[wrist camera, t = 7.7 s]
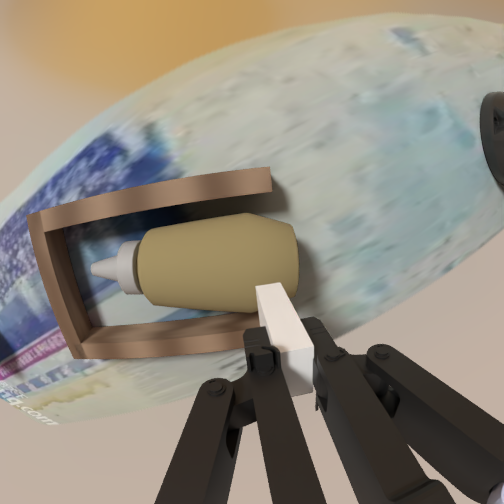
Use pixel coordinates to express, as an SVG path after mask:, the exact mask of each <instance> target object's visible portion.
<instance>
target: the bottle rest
mask: <svg viewBox="0 0 504 504" xmlns="http://www.w3.org/2000/svg"><path fill="white" fill-rule="evenodd" d="M265 192H272V183H271V173H270V167H261V168H252V169H243V170H235V171H227V172H219V173H212V174H205V175H198V176H192V177H186V178H180V179H174V180H168V181H163V182H157V183H152V184H147V185H142V186H137V187H132V188H127V189H123V190H118V191H114V192H110V193H105V194H101V195H97V196H93V197H89V198H85V199H81V200H77V201H73V202H70V203H66V204H63V205H59V206H55V207H52V208H49V209H45V210H42V211H39V212H36V213H32V214H29V215H26V217H27V222H28V227H29V232H30V236H31V241H32V245H33V249H34V253H35V257H36V260H37V264H38V267H39V271H40V274H41V277H42V281H43V284H44V287H45V290H46V293H47V296H48V298H49V301H50V304H51V307H52V309H53V312H54V314H55V317H56V320H57V322H58V324H59V327H60V329H61V332H62V334H63V336H64V338H65V341H66V343H67V345H68V347H69V349H70V351H71V353H72V356H73V358H74V359H124V358H147V357H163V356H175V355H187V354H197V353H206V352H215V351H223V350H231V349H238V348H245V347H244V341H243V334H244V332H245V330H246V329H249V328H256V327H260V321H259V313H258V311H256V312H253V313H246V312H239V313H232V314H224V315H217V316H209V317H201V318H193V319H184V320H175V321H166V322H155V323H145V324H133V325H120V326H106V327H92V325H91V323H90V320H89V317H88V315H87V312H86V309H85V306H84V303H83V301H82V298H81V295H80V292H79V288H78V285H77V282H76V279H75V275H74V272H73V269H72V265H71V261H70V258H69V254H68V250H67V246H66V242H65V237H64V233H63V227H67V226H71V225H76V224H80V223H85V222H89V221H94V220H98V219H103V218H108V217H113V216H118V215H123V214H128V213H133V212H138V211H144V210H149V209H155V208H160V207H166V206H172V205H178V204H184V203H191V202H197V201H204V200H211V199H218V198H225V197H232V196H240V195H248V194H256V193H265Z"/></svg>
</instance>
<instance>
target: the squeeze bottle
mask: <svg viewBox="0 0 504 504" xmlns="http://www.w3.org/2000/svg"><path fill="white" fill-rule="evenodd" d="M91 272H92V274H93V275H94V276H98V277H102V278H106V279H110V280H114V281H118V283H119V285H120V287H121V289H122V290H123V291H124V292H125V293H126V294H144V295H145V297H146V298H147V299H148V300H149V301H150V302H151V303H152V304H153V305H157V306H167V307H177V308H188V309H200V310H214V311H229V312H246V313H253V312H256V311H258V304H257V296H256V287H255V286H260V285H266V284H273V283H279V282H280V283H281V285H282V287H283V288H284V290H285V292H286V294H287V296H288V298H289V299H290V298H292V297H295V294H296V292H297V287H298V281H299V252H298V245H297V240H296V236H295V233H294V230H293V227H292V226H291V225H290V224H287V223H284V222H280V221H277V220H273V219H269V218H266V217H262V216H258V215H254V214H251V213H241V214H235V215H228V216H222V217H216V218H209V219H203V220H197V221H192V222H186V223H180V224H174V225H169V226H163V227H158V228H153V229H151V230H149V231H148V232H147V233H146V234H145V236H144V237H143V239H142V241H141V240H139V241H126V242H124V243H123V244H122V245H121V246H120V248H119V250H118V254H117V256H113V257H110V258H107V259H104V260H101V261H98V262H95V263H93V264H92V265H91Z"/></svg>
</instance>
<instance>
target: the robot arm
mask: <svg viewBox="0 0 504 504" xmlns="http://www.w3.org/2000/svg"><path fill="white" fill-rule="evenodd" d="M480 128H481V137H482V143H483V148H484V152H485V155H486V159H487V162H488V164H489V167H490V169H491V171H492V173H493V175H494V177H495V178H496V179H497V181H498V182H499V183H501V184H502V185H504V92H492V93H488V94H487V95H486V96H485V97H484V99H483V102H482V105H481V112H480ZM255 287H256V296H257V304H258V313H259V321H260V327H256V328H249V329H246V330H245V332H244V334H243V341H244V347H245V354H246V361H247V372H246V373H245V375H244V376H242V377H241V378H240V379H238V380H235V381H233V382H230V381H228V380H227V379H223V378H214V379H211V380H208V381H206V382H205V383H203V384H202V386H201V387H200V389H199V391H198V394H197V396H196V399H195V401H194V404H193V407H192V409H191V412H190V414H189V417H188V419H187V422H186V424H185V427H184V429H183V432H182V435H181V437H180V440H179V442H178V445H177V448H176V450H175V453H174V455H173V458H172V460H171V463H170V465H169V468H168V470H167V473H166V475H165V478H164V480H163V483H162V485H161V488H160V491H159V493H158V496H157V498H156V501H155V503H154V504H227V501H228V496H229V492H230V487H231V482H232V478H233V473H234V469H235V464H236V459H237V454H238V449H239V444H240V439H241V435H242V429H243V426H246V425H249V424H251V423H253V422H256V421H257V424H258V430H259V435H260V440H261V446H262V451H263V457H264V462H265V467H266V472H267V477H268V483H269V488H270V493H271V497H272V502H273V504H327V503H326V500H325V497H324V494H323V491H322V488H321V485H320V482H319V480H318V477H317V474H316V471H315V468H314V465H313V462H312V459H311V456H310V453H309V450H308V447H307V444H306V441H305V438H304V435H303V432H302V429H301V426H300V423H299V420H298V417H297V414H296V410H295V408H294V405H293V401H292V398H291V397H294V396H298V395H303V394H307V393H312V392H313V385H314V387H315V390H316V405H315V408H316V411H317V410H318V406H319V408H320V410H321V413H322V415H323V417H324V420H325V422H326V425H327V427H328V430H329V432H330V435H331V437H332V439H333V442H334V444H335V447H336V449H337V452H338V454H339V456H340V459H341V461H342V464H343V466H344V469H345V471H346V473H347V476H348V478H349V481H350V483H351V486H352V488H353V491H354V493H355V495H356V498H357V500H358V503H359V504H456V503H455V502H454V500H453V498H452V497H451V495H450V493H449V492H448V490H447V488H446V487H445V486H444V484H443V483H442V482H440V481H439V480H433V479H429V478H428V477H427V476H426V474H425V473H424V471H423V469H422V468H421V466H420V464H419V463H418V461H417V459H416V458H415V456H414V455H413V453H412V451H411V450H410V448H409V446H410V447H411V448H412V449H413V450H415V451H416V452H417V453H418V454H419V455H420V456H421V457H422V458H423V459H424V460H425V461H427V462H428V463H429V464H430V465H431V466H432V467H433V468H434V469H435V470H437V471H438V472H439V473H440V474H441V475H442V476H444V478H446V479H447V480H448V481H449V482H450V483H451V484H452V485H454V486H455V487H456V488H457V489H458V490H460V491H461V492H462V493H463V494H464V495H466V496H467V497H469V498H470V499H472V500H474V501H476V502H478V503H481V504H504V424H502V423H501V422H499V421H498V420H497V419H495V418H493V417H492V416H491V415H489V414H488V413H486V412H485V411H484V410H482V409H481V408H479V407H478V406H477V405H475V404H474V403H472V402H471V401H469V400H468V399H467V398H465V397H464V396H462V395H461V394H459V393H458V392H456V391H455V390H454V389H452V388H451V387H449V386H448V385H446V384H445V383H444V382H442V381H441V380H439V379H438V378H436V377H435V376H433V375H432V374H431V373H429V372H428V371H426V370H425V369H423V368H422V367H421V366H419V365H418V364H416V363H415V362H413V361H412V360H410V359H409V358H408V357H406V356H405V355H403V354H402V353H400V352H399V351H397V350H396V349H395V348H393V347H391V346H389V345H385V344H377V345H374V346H372V347H370V348H369V349H368V351H367V354H365V355H351V354H349V353H348V352H347V351H346V350H345V349H343V348H341V347H337V345H336V344H335V342H334V341H333V339H332V338H331V336H330V335H329V333H328V332H327V330H326V328H325V327H324V325H323V324H322V322H321V321H320V320H318V319H317V318H315V317H309V318H304V319H299V317H298V315H297V313H296V311H295V309H294V307H293V305H292V303H291V302H290V300H289V298H288V296H287V294H286V292H285V290H284V288H283V287H282V285H281V283H280V282H279V283H273V284H266V285H260V286H255ZM390 386H391V387H390ZM407 444H408V445H409V446H408V445H407Z"/></svg>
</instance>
